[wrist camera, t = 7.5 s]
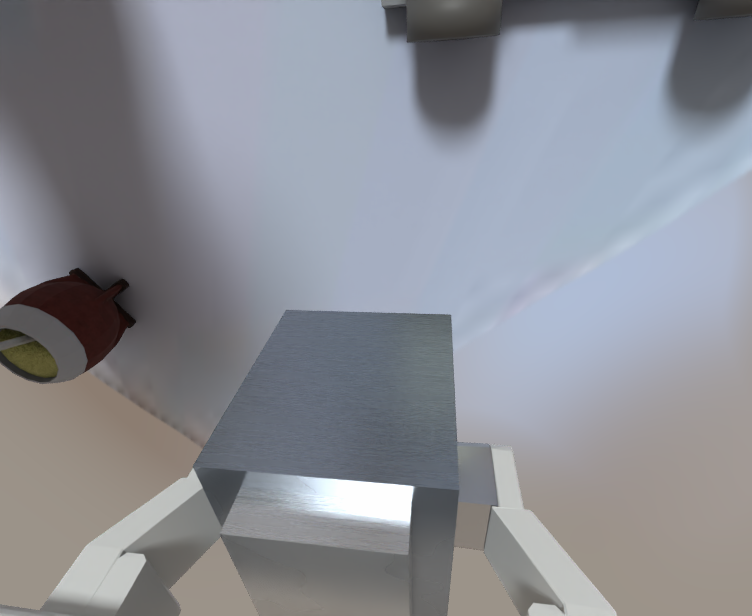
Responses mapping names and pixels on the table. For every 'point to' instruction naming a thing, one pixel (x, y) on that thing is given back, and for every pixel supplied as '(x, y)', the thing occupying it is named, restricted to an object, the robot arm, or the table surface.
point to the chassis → (483, 16)
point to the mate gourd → (61, 328)
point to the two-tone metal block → (341, 467)
